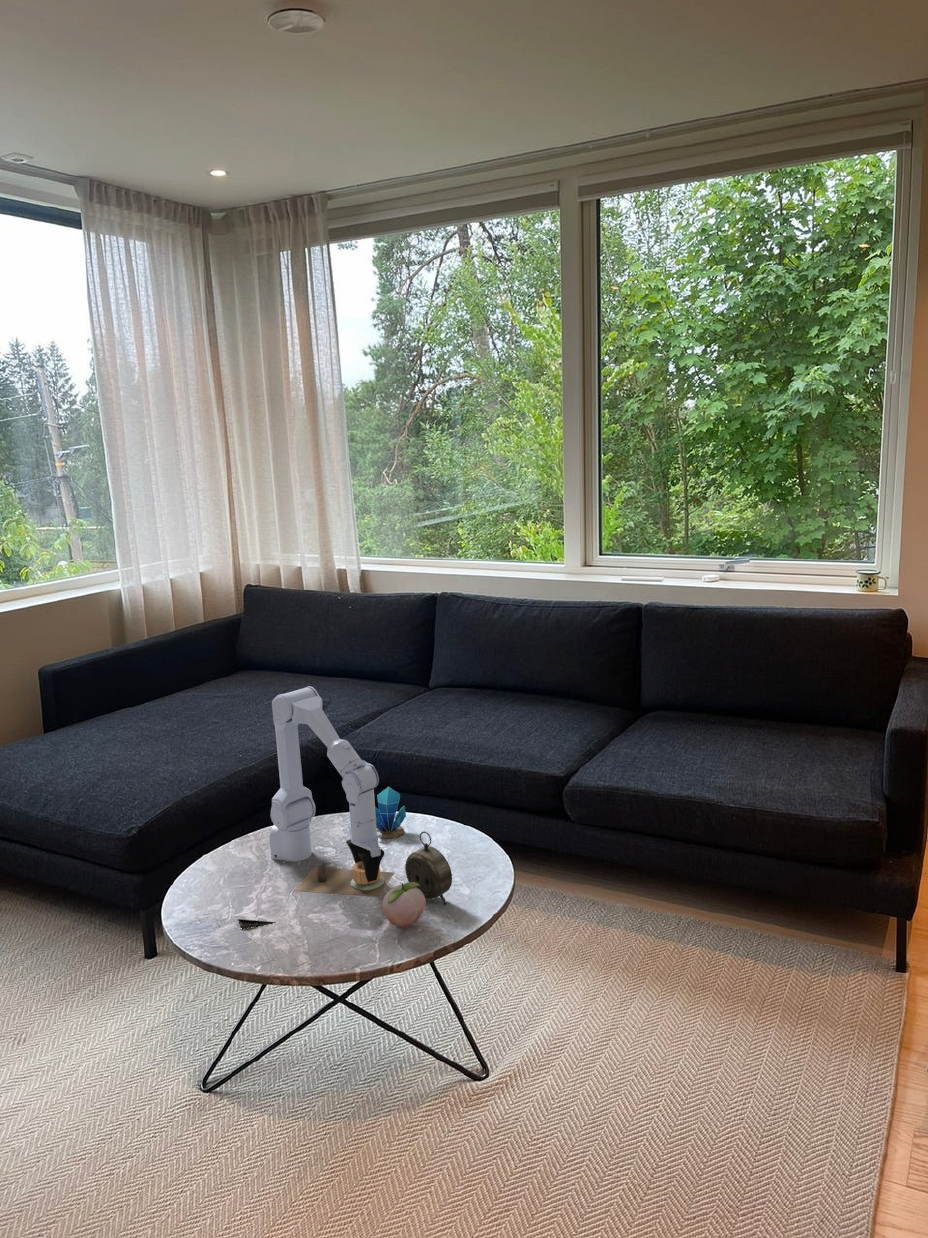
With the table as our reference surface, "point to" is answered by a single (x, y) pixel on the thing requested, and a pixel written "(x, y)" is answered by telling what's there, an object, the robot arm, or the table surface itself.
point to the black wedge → (252, 923)
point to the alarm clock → (429, 871)
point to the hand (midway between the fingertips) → (366, 874)
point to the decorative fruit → (403, 904)
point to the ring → (362, 874)
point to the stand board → (340, 882)
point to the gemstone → (389, 814)
